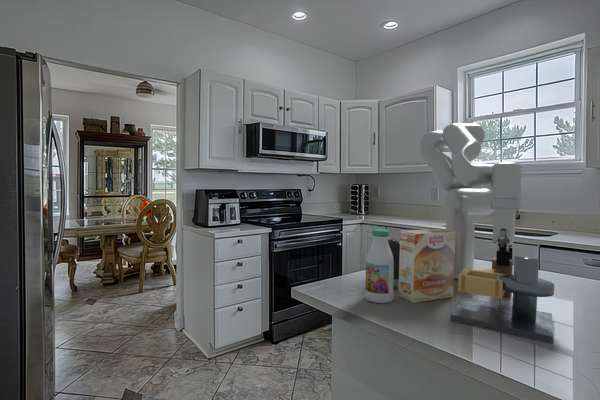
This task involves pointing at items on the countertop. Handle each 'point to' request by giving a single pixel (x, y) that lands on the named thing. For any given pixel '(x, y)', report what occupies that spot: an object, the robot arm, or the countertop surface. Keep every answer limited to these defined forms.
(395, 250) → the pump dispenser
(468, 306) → the ringlock post
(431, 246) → the coffeecake box
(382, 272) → the milk bottle
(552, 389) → the countertop surface
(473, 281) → the ochre bracket
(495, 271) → the walnut wedge
